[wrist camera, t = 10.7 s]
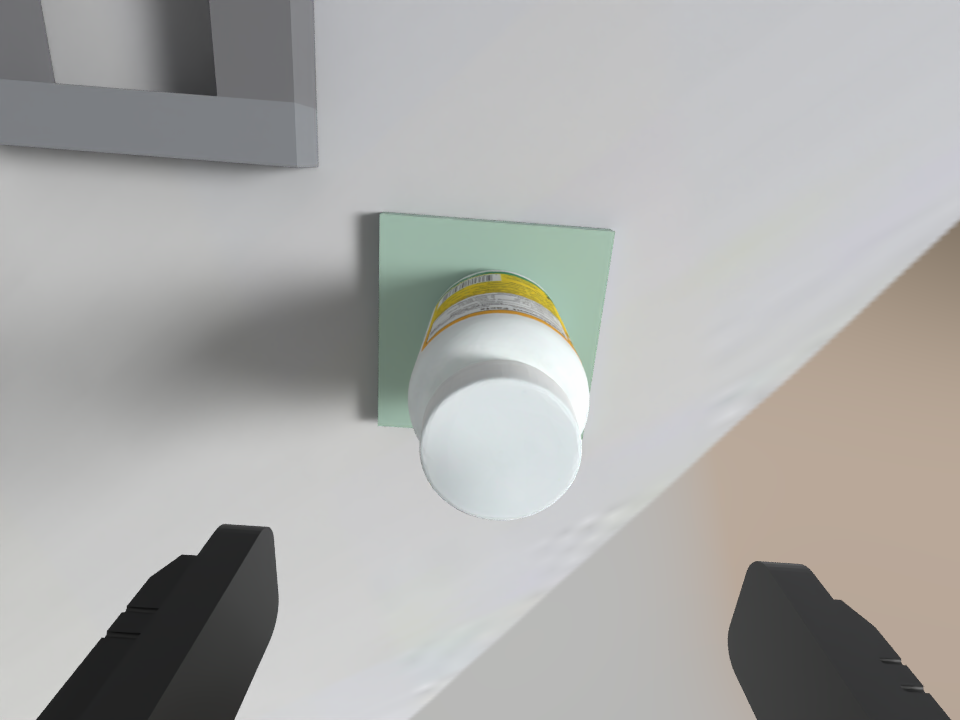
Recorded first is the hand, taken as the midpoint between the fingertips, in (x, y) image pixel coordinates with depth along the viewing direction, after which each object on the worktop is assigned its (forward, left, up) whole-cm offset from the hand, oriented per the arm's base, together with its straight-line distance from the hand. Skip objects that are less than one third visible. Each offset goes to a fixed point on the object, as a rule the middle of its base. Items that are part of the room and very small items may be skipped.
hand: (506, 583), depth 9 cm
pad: (0, 0, -15) cm, 15 cm away
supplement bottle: (0, 0, -14) cm, 14 cm away
